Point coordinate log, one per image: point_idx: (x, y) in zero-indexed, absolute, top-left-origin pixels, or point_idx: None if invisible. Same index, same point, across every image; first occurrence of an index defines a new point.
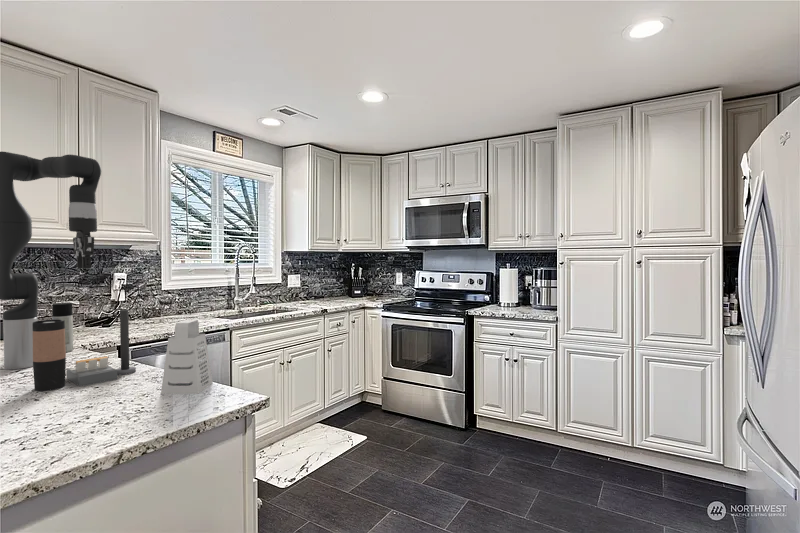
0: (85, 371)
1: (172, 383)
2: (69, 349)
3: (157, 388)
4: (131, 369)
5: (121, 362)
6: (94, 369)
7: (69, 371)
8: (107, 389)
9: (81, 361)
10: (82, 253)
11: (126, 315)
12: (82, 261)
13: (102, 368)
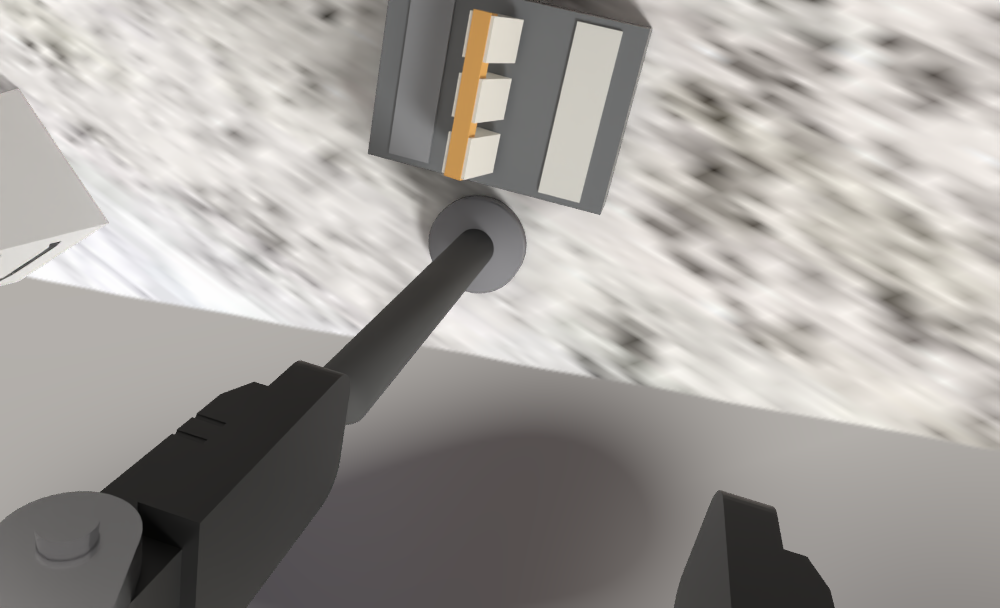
0: None
1: (62, 177)
2: None
3: (102, 134)
4: (436, 254)
5: (463, 240)
6: None
7: (584, 14)
8: (252, 18)
9: (472, 36)
10: (14, 572)
11: None
12: (244, 440)
13: None
